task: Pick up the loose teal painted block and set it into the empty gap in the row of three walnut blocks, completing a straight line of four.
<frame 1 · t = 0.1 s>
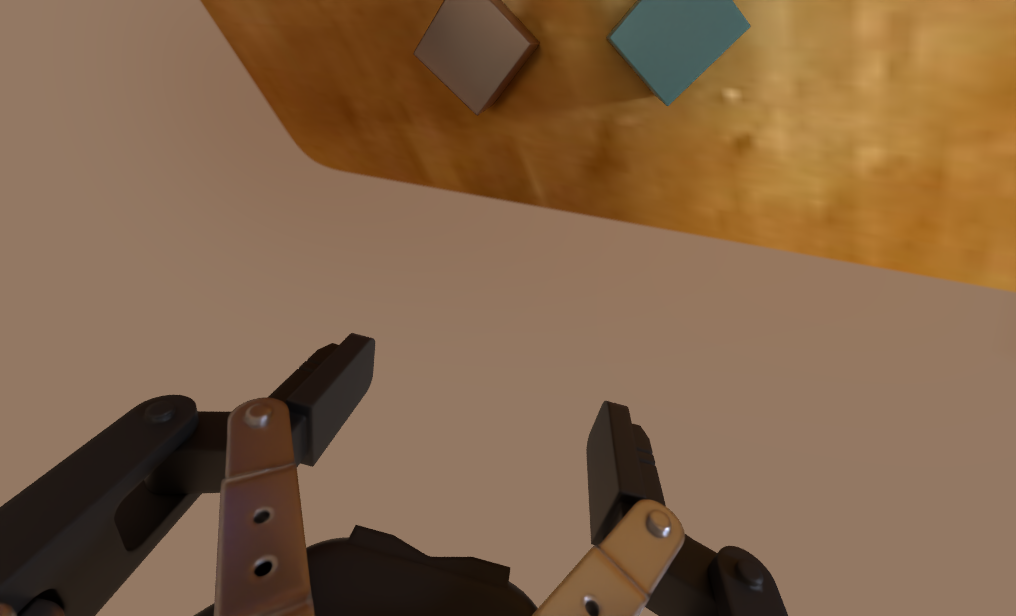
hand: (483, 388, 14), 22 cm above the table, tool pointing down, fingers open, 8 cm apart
teal block: (663, 32, 25), on the table
walnut block 4: (488, 47, 27), on the table
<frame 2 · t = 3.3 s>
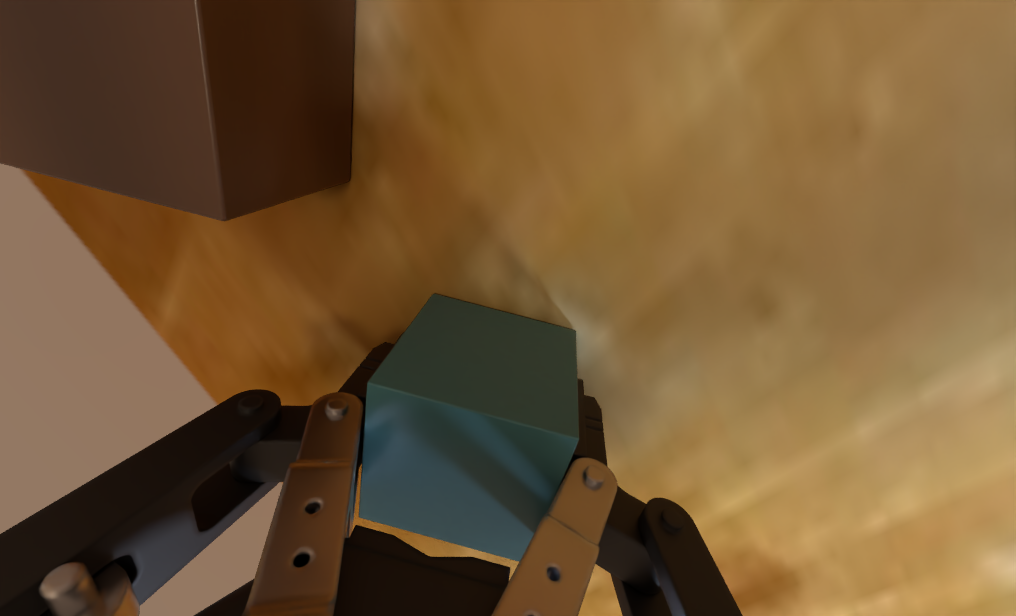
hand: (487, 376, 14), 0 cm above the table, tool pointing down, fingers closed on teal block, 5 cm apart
teal block: (490, 369, 15), on the table, touching gripper
walnut block 4: (267, 69, 11), on the table
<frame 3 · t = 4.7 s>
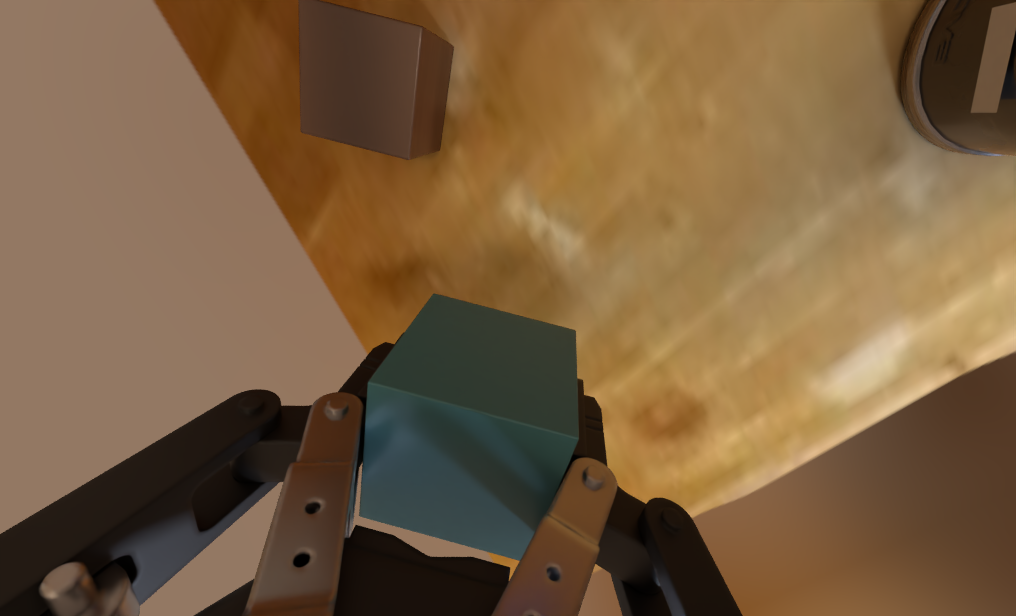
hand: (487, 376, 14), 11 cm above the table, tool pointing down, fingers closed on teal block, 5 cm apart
teal block: (490, 369, 15), point 11 cm above the table, touching gripper
walnut block 4: (400, 89, 21), on the table
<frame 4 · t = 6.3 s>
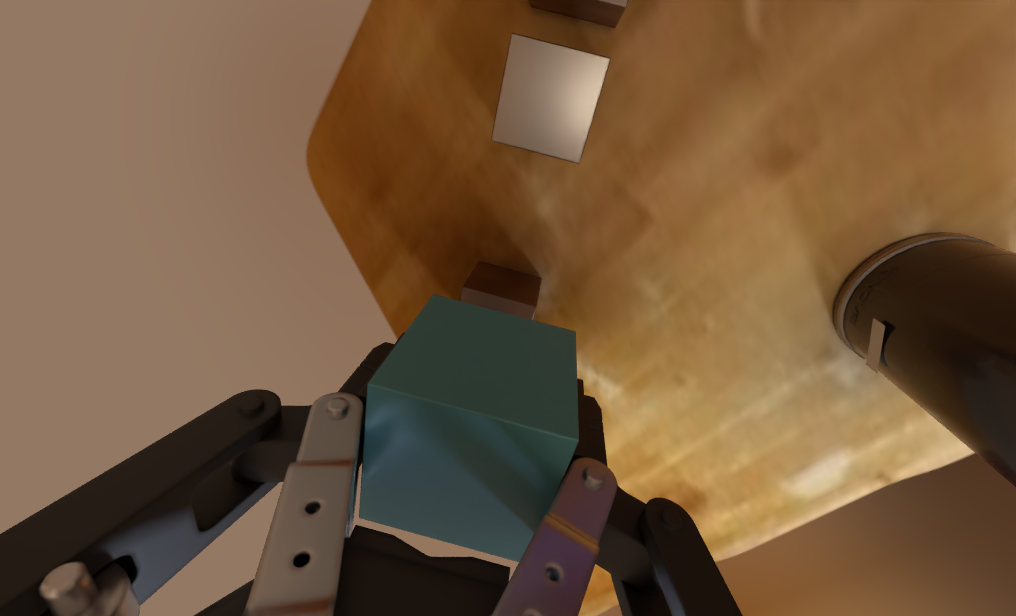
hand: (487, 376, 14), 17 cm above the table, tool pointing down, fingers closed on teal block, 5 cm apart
walnut block 2: (551, 103, 25), on the table
teal block: (490, 370, 15), point 16 cm above the table, touching gripper
walnut block 4: (502, 297, 31), on the table
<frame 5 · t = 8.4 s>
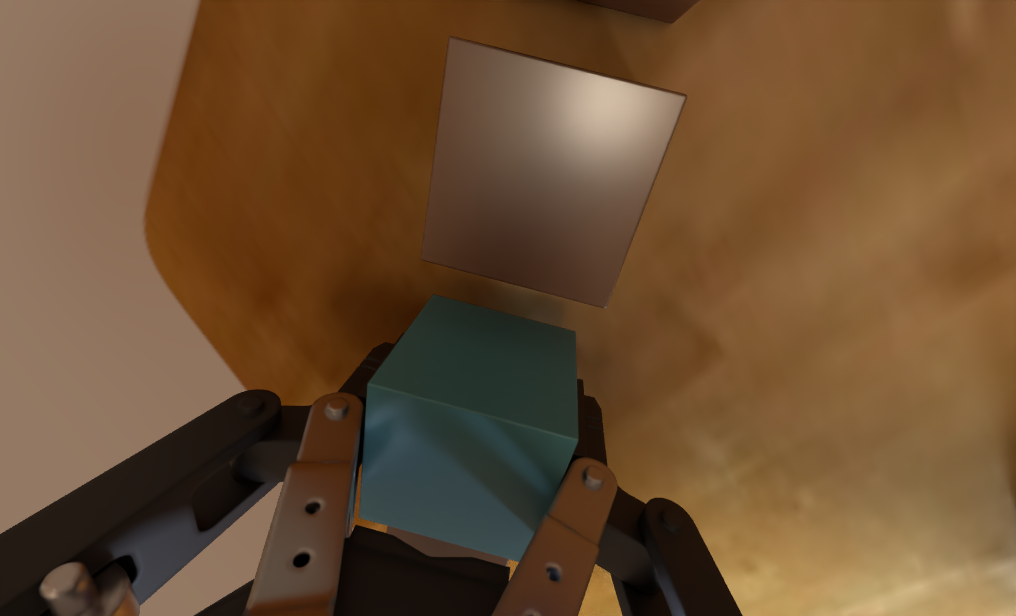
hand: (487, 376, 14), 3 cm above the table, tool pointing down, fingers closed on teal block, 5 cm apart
walnut block 2: (547, 163, 14), on the table
teal block: (490, 370, 15), point 3 cm above the table, touching gripper
walnut block 4: (475, 448, 20), on the table
when the fingers open (0 cm above the table, at t = 9.7 s): teal block stays where it is, on the table.
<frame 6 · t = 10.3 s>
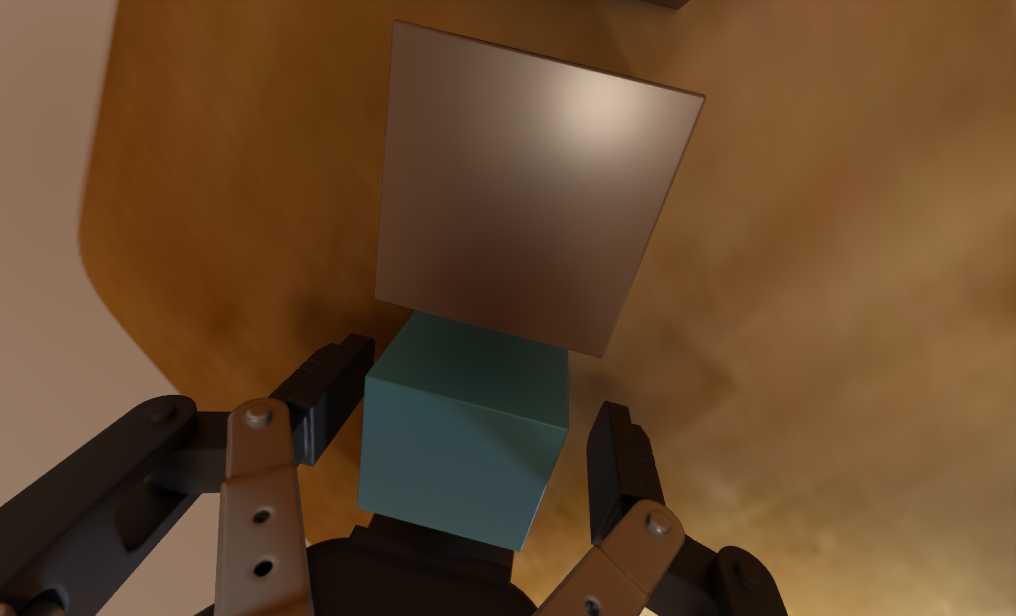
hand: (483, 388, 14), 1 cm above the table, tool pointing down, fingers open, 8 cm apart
walnut block 2: (533, 175, 12), on the table
teal block: (485, 365, 15), on the table
walnut block 4: (459, 486, 18), on the table
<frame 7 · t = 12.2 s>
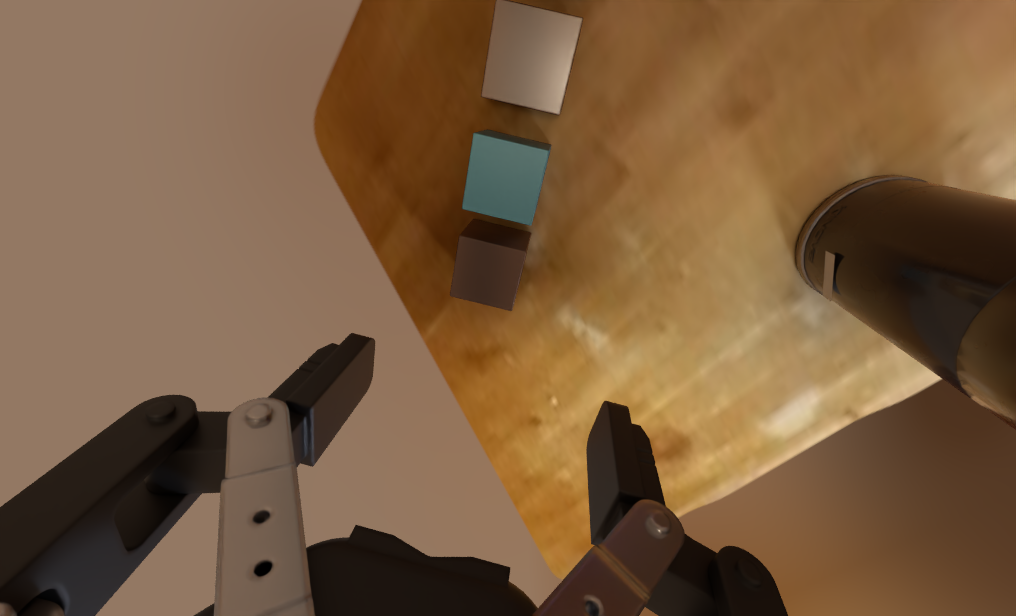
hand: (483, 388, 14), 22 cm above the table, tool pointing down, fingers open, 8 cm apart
walnut block 2: (534, 67, 28), on the table
teal block: (512, 171, 31), on the table
walnut block 4: (496, 253, 34), on the table
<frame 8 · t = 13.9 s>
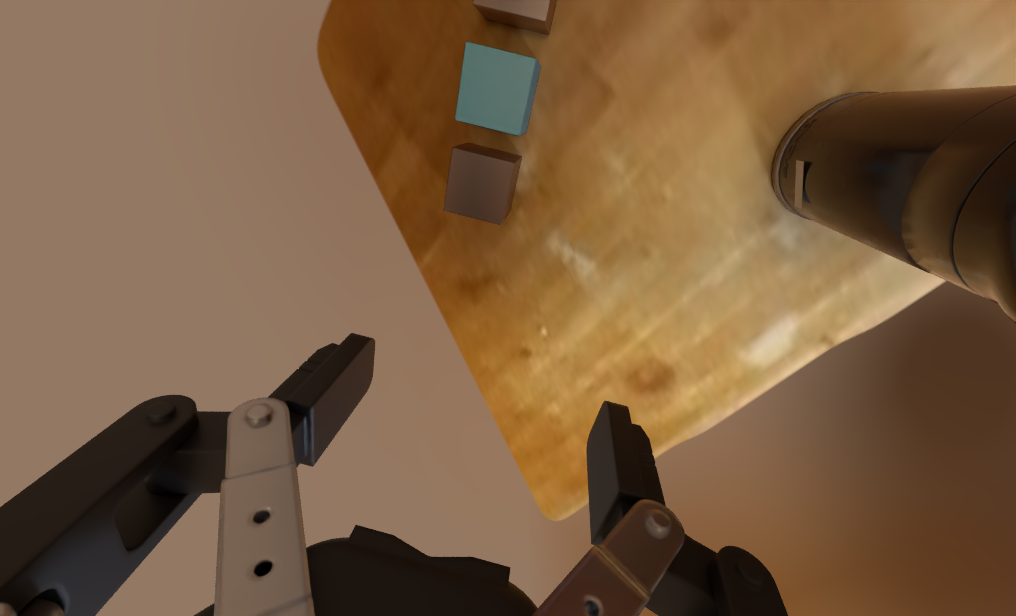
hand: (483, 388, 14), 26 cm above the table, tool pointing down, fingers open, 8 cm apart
teal block: (504, 93, 33), on the table
walnut block 4: (489, 178, 36), on the table
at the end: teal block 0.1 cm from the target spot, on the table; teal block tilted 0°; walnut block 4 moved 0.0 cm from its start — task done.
